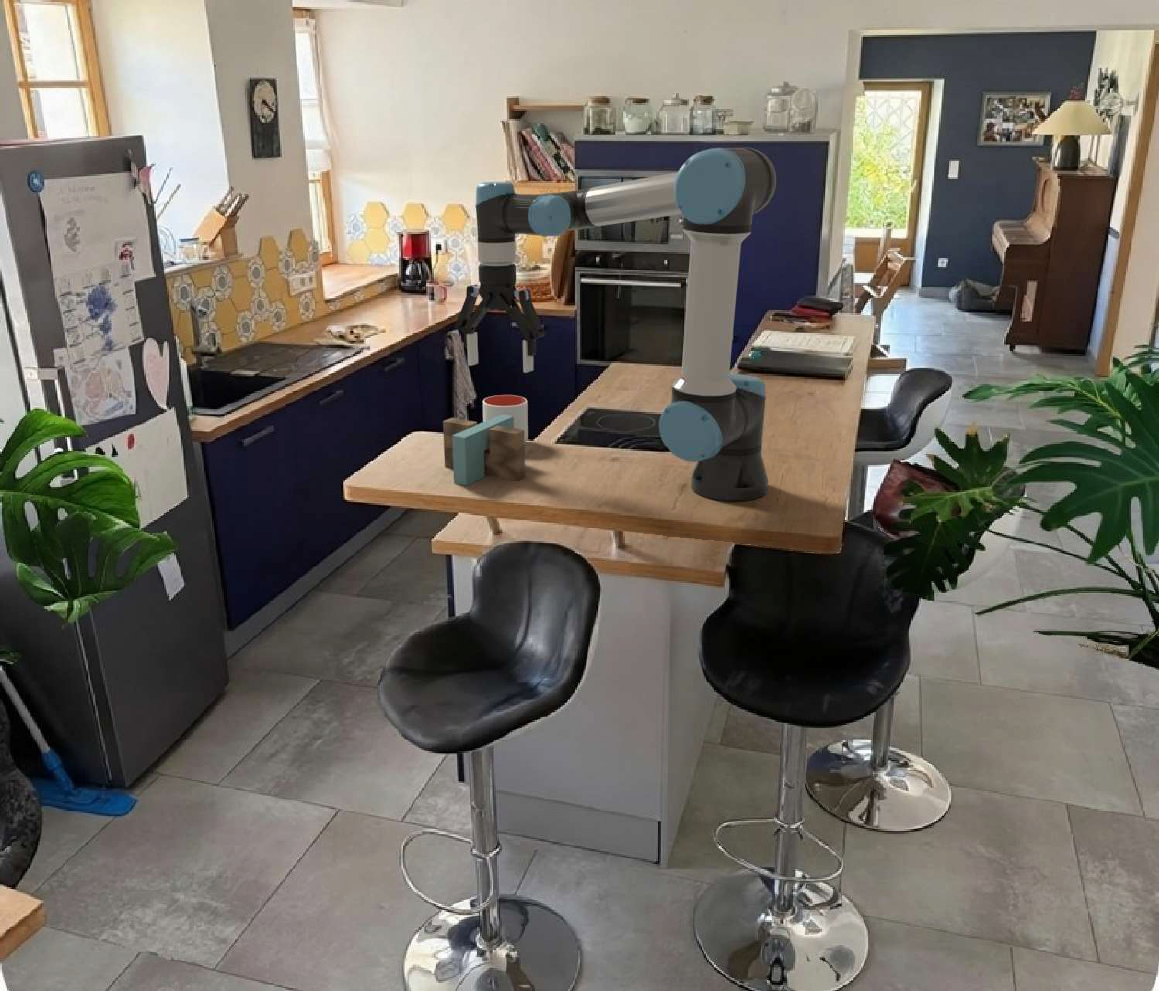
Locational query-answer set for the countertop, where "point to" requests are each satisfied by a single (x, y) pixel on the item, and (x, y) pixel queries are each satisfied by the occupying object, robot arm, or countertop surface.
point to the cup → (508, 410)
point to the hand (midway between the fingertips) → (500, 368)
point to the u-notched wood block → (492, 449)
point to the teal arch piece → (474, 449)
